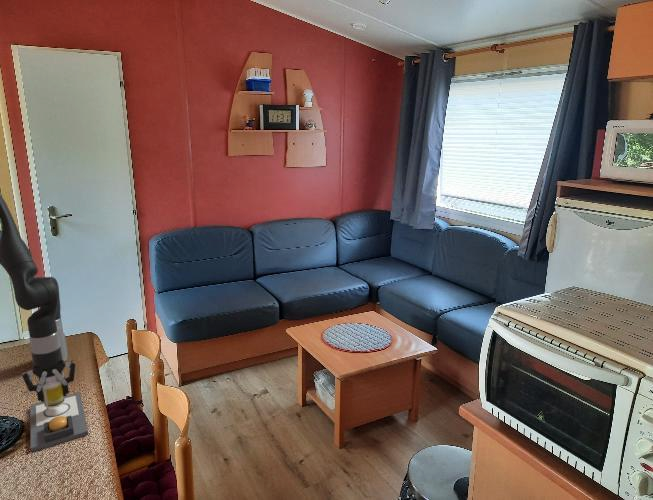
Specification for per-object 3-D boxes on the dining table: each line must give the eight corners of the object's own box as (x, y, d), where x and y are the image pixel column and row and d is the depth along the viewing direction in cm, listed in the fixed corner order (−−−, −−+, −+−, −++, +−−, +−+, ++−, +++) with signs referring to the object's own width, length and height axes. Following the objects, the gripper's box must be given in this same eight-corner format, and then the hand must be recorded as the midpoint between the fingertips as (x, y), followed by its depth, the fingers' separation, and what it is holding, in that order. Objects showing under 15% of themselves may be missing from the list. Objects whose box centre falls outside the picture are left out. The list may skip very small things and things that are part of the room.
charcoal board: (30, 408, 146) (29, 399, 145) (80, 395, 153) (79, 386, 152) (31, 451, 126) (29, 441, 125) (88, 434, 133) (87, 424, 132)
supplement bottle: (69, 400, 143) (64, 372, 141) (53, 410, 138) (49, 380, 136) (55, 397, 145) (51, 368, 143) (40, 406, 140) (35, 377, 138)
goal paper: (35, 406, 145) (35, 405, 144) (75, 396, 150) (75, 395, 150) (36, 426, 135) (36, 425, 135) (78, 414, 140) (78, 413, 140)
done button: (49, 425, 133) (48, 419, 132) (66, 420, 135) (65, 414, 135) (50, 434, 129) (48, 427, 129) (67, 428, 132) (66, 422, 131)
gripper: (16, 358, 130) (26, 411, 135) (74, 346, 138) (81, 396, 142) (17, 348, 136) (26, 398, 141) (72, 337, 144) (79, 385, 148)
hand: (54, 397), depth 141 cm, fingers closed on supplement bottle, 5 cm apart
